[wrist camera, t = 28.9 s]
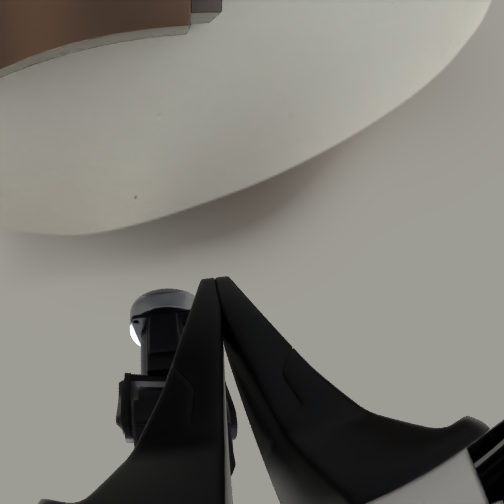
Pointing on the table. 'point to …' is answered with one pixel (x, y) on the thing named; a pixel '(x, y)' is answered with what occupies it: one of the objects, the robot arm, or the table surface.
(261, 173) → the table surface
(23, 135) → the table surface
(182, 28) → the cabinet
